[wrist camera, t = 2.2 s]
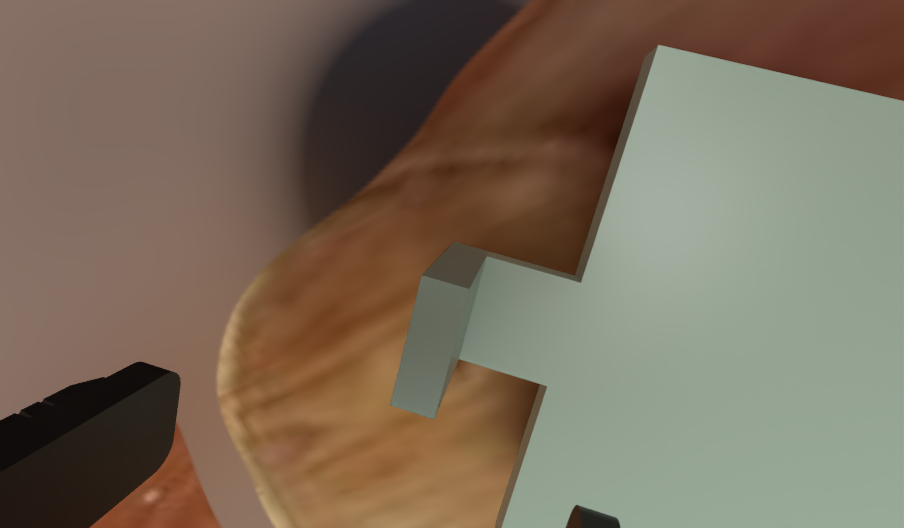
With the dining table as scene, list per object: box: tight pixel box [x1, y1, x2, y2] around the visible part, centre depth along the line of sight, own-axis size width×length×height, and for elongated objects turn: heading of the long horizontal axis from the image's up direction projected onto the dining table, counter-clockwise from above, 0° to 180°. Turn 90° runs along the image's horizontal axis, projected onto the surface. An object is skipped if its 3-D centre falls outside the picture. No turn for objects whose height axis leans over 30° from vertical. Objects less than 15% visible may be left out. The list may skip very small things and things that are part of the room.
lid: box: [390, 45, 904, 528], centre depth 19 cm, size 22×23×8 cm
